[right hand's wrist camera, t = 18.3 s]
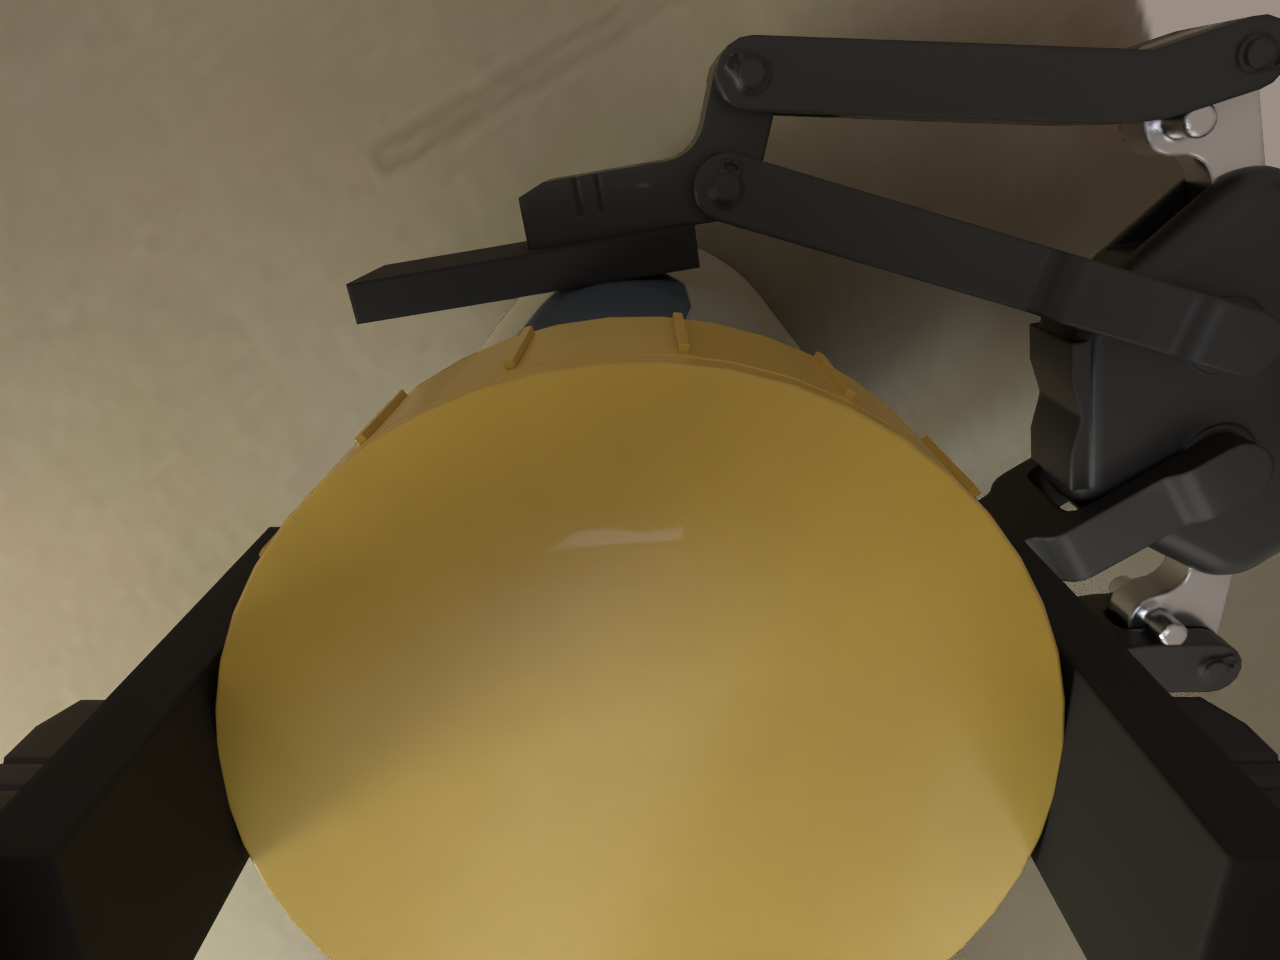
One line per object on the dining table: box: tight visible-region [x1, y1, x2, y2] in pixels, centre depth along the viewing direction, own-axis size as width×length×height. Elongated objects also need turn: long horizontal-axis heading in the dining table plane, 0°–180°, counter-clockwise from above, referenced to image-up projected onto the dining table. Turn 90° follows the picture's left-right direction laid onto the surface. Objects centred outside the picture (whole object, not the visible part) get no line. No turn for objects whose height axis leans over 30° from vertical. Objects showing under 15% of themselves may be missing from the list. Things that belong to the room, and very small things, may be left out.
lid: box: [215, 312, 1065, 960], centre depth 11 cm, size 10×10×2 cm
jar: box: [478, 249, 801, 352], centre depth 18 cm, size 8×8×16 cm
